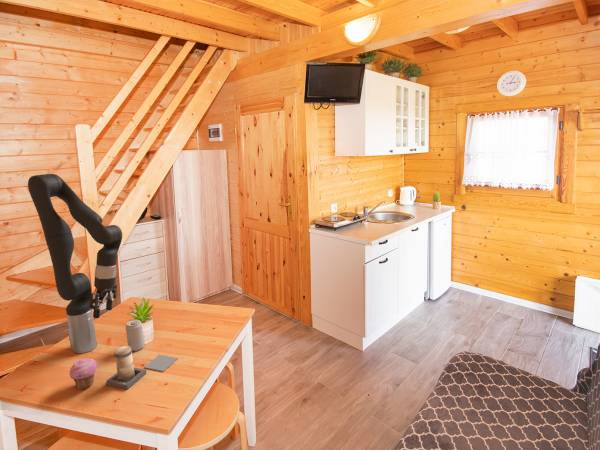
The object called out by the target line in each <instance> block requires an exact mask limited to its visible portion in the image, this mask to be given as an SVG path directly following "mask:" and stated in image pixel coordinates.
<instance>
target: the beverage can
mask: <svg viewBox="0 0 600 450" xmlns="http://www.w3.org/2000/svg"><path fill="white" fill-rule="evenodd" d="M135 323H136V324H135ZM125 324H126V325H125V332H126V333H125V334H126V339H127V341H126V342H127V346H130V347H131V348H132V352H137V351H141V350H142V349H143V348H144V346H145V338H144V330H143V323H142V321H141V320H140V319H131V320H129V321H127V322H126V323H125Z"/></svg>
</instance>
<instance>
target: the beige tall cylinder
mask: <svg viewBox="0 0 600 450" xmlns="http://www.w3.org/2000/svg"><path fill="white" fill-rule="evenodd" d="M113 354H114V357H115V358H114V359H115V365H116V373H118V379H117V381H121V382H126V383H128V382H129V381H130V380H131V379H132V378H134V377H135V376H136V374H135V372H134V368H135V365H134V360H133V351H132V348H131V347H130V346H128V345H124V346H120V347H118V348H116V349H115V350H114V351H113Z"/></svg>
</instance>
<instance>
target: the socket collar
mask: <svg viewBox="0 0 600 450" xmlns="http://www.w3.org/2000/svg"><path fill="white" fill-rule="evenodd" d="M134 372H135V377H134V378H132V379H131V380H130V381H129V382H128V383H126V382H121V381H119V380H118V373H117V372H116V373H114V374H113V375H112V376H111V377H109V378H108V379H106V381H105V383H106V385H107V386H111V387H114V388H120V389H125V390H130V389H131V388H132V387H133V386H134V385H135V384H136V383H137V382H139V381H140V380H141V379H142V378H143V377H144V376H145V375H147V369H145V368H144V369H143V368H137V367H134Z"/></svg>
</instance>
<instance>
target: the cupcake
mask: <svg viewBox="0 0 600 450" xmlns="http://www.w3.org/2000/svg"><path fill="white" fill-rule="evenodd" d="M69 369H70V370H69V377H70V378H71V379H72V380H73V381H74V382H75V385H76V389H78V390H82V389H86V388H89V387H91V386H92V385H94V381H95V373H96V372H97V369H98V364H97V361H96V360H95V359H93V358H80V359H78V360H76V361H74V362H73V364H72V366H71V367H70V368H69Z"/></svg>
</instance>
